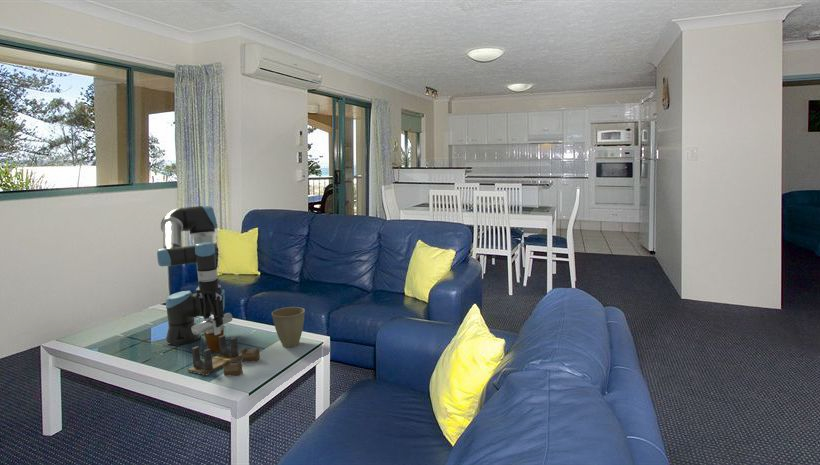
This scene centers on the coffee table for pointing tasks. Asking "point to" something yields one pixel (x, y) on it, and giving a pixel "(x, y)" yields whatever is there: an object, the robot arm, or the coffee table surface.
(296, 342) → the plant pot
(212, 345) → the disposable coffee cup
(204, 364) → the collar block
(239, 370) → the tube stand
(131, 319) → the coffee table surface
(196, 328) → the air tube
